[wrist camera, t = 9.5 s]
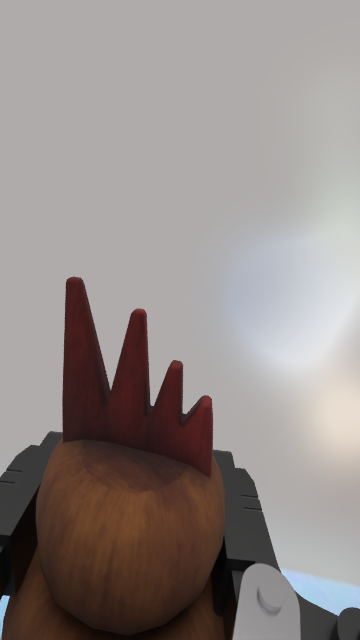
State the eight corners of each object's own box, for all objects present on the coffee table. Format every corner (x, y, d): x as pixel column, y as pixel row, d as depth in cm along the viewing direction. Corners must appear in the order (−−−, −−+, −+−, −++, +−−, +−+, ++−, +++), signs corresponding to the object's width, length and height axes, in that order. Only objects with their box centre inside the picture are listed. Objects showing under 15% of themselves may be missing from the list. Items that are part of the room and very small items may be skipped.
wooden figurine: (-22, 706, 9) (-90, 266, 5) (106, 555, 14) (129, 263, 10) (124, 993, 6) (309, 455, 2) (225, 670, 11) (342, 311, 6)
